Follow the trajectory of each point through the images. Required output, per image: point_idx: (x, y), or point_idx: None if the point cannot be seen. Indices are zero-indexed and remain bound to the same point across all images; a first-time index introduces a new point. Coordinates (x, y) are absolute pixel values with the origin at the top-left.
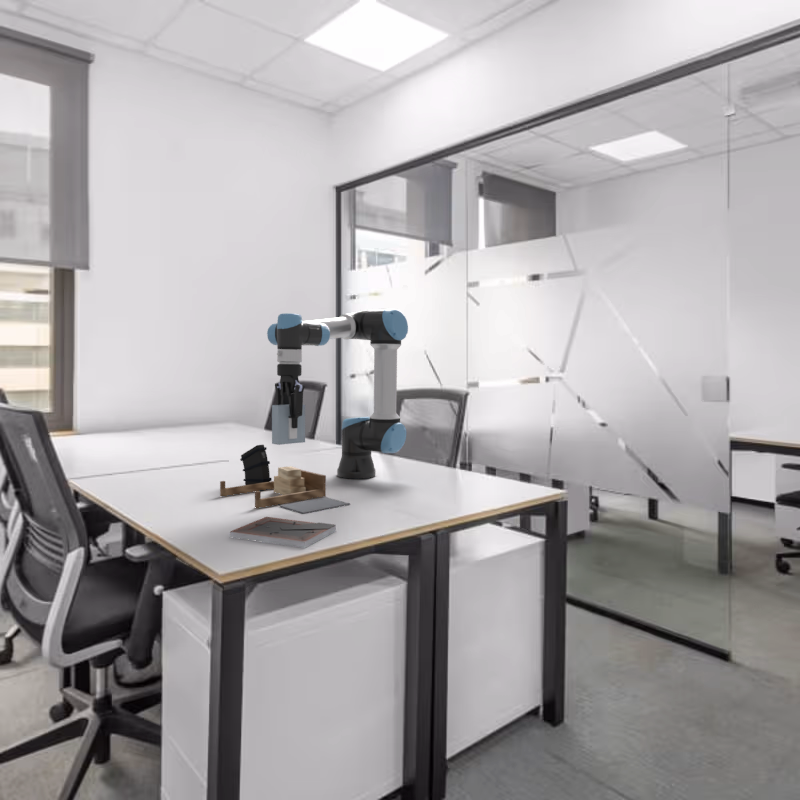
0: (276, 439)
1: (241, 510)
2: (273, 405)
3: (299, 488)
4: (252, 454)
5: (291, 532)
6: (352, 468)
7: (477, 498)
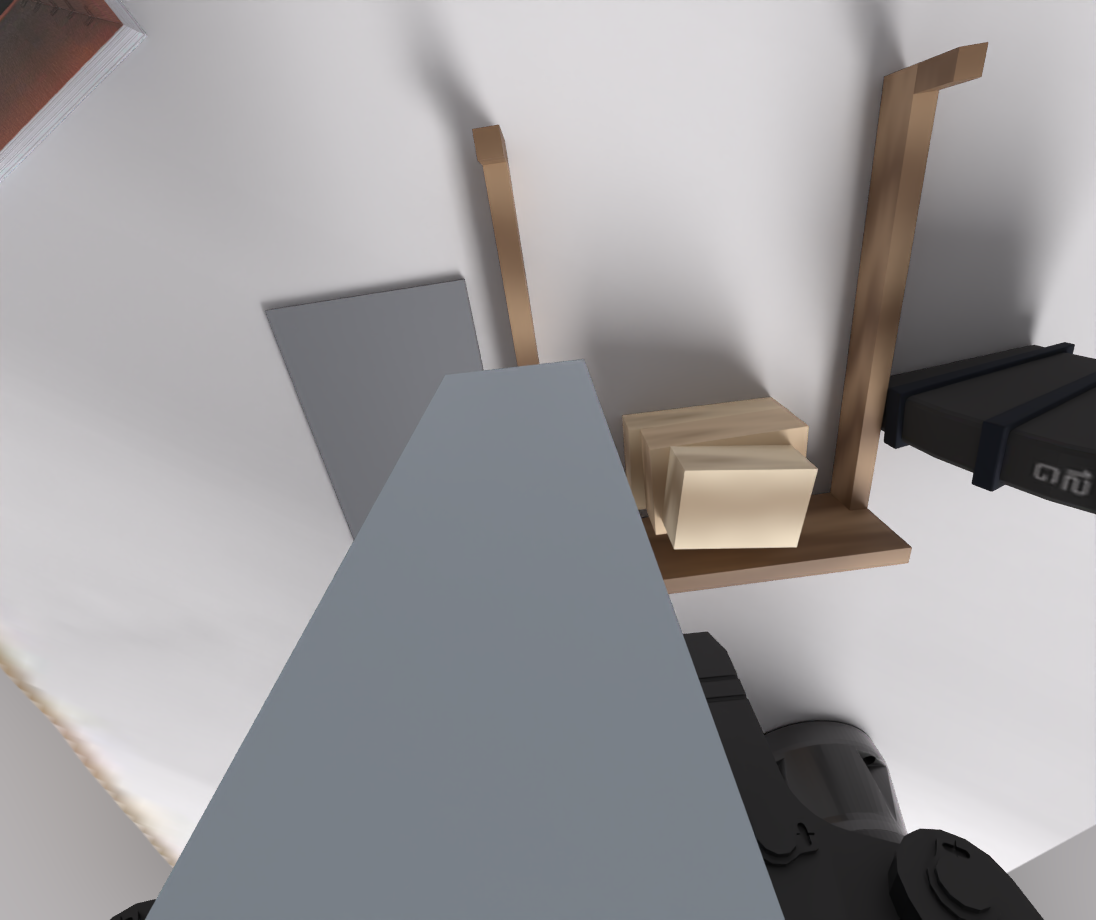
0: (474, 390)
1: (485, 28)
2: None
3: (630, 477)
4: None
5: None
6: (784, 779)
7: None
